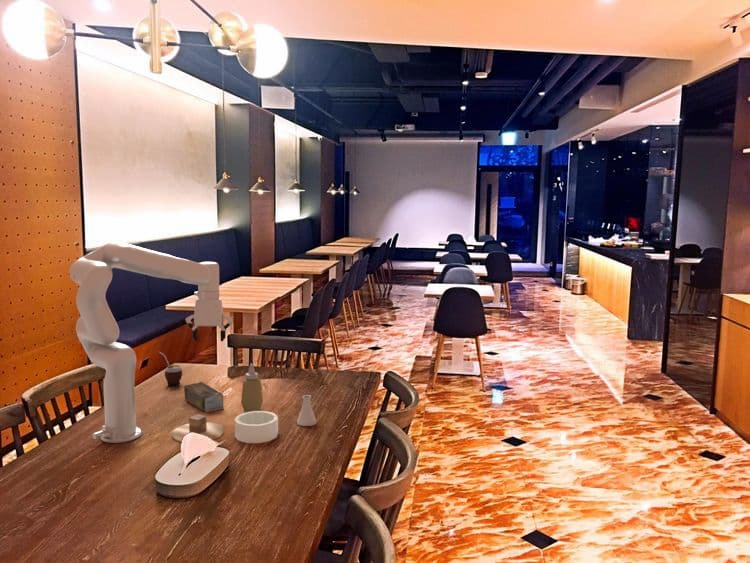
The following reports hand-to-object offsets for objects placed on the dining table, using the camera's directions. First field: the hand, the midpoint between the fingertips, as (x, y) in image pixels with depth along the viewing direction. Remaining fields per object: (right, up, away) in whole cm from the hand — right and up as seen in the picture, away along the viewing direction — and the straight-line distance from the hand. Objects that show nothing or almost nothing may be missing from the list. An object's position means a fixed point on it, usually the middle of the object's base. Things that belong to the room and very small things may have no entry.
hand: (209, 340), depth 232 cm
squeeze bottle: (+16, -27, +2) cm, 31 cm away
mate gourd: (-24, -22, +32) cm, 46 cm away
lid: (+2, -30, -21) cm, 36 cm away
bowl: (+22, -30, -21) cm, 43 cm away
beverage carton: (-5, -26, +9) cm, 28 cm away
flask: (+37, -29, -10) cm, 48 cm away
